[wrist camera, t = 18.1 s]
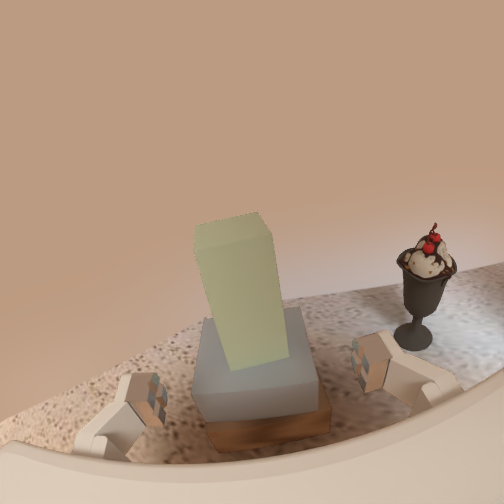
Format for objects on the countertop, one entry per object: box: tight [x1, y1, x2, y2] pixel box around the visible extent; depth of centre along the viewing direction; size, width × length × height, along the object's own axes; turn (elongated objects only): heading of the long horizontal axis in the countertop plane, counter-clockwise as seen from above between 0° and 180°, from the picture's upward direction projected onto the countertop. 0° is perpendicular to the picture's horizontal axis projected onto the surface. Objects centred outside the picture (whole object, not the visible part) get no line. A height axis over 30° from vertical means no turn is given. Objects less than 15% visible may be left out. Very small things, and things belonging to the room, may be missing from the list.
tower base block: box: [206, 367, 332, 453], centre depth 25 cm, size 10×10×4 cm
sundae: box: [394, 223, 457, 351], centre depth 26 cm, size 7×7×15 cm
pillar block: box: [194, 212, 289, 371], centre depth 21 cm, size 4×4×10 cm
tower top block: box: [191, 306, 319, 422], centre depth 23 cm, size 9×9×4 cm
